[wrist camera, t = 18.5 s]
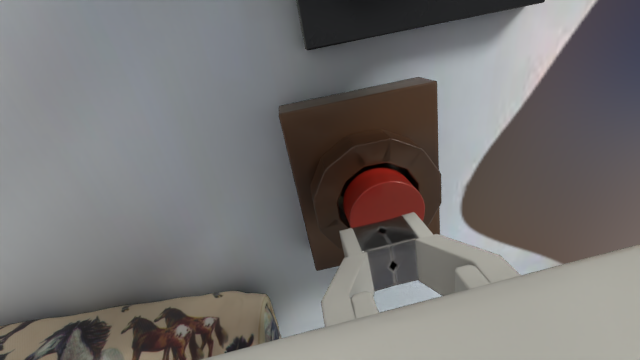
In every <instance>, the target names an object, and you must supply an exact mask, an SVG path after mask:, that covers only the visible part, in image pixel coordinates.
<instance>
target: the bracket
mask: <svg viewBox="0 0 640 360" xmlns="http://www.w3.org/2000/svg"><path fill="white" fill-rule="evenodd" d="M544 1H545V0H296V3H297V8H298V14H299V19H300V24H301V30H302V35H303V40H304V46H305V49H306V50H311V49H316V48H321V47H326V46H331V45H336V44H341V43H346V42H351V41H356V40H361V39H365V38H370V37H375V36H380V35H385V34H390V33H395V32H400V31H405V30H410V29H415V28H420V27H425V26H430V25H435V24H439V23H444V22H449V21H454V20H459V19H464V18H469V17H474V16H479V15H484V14H489V13H494V12H499V11H504V10H509V9H513V8H518V7H523V6H528V5H533V4H538V3H543V2H544Z"/></svg>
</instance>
